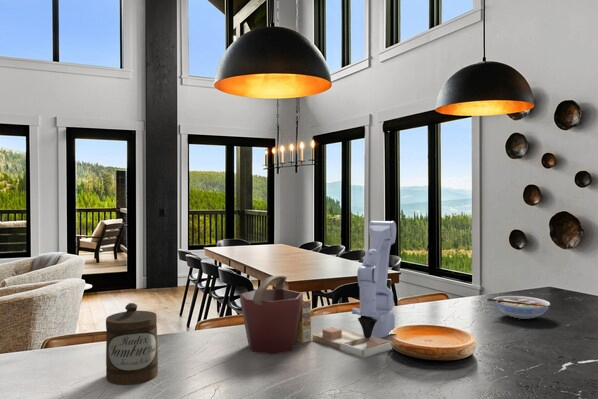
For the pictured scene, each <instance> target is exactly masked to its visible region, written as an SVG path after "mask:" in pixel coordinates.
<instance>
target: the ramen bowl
mask: <svg viewBox="0 0 598 399" xmlns="http://www.w3.org/2000/svg"><path fill="white" fill-rule="evenodd" d="M486 301H487V302H494V304H495V306H496V307H497V308H498V310H499V311H500V312H502V313H503V314H505V315H506V316H509V317H511V318H512V317H514V318H513V319H515V318H520V319H529V320H530V318H531V319H535V318H537V317H540V316H542V315H543V314H544V313H546V312H547V310H548V309H549V308H552V306H551V303H550V302H549V301H547V300H545V299H541V298H537V297H531V296H524V295H502V296H497V297H494V298H488V299H486ZM520 319H519V320H520Z"/></svg>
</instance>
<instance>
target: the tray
mask: <svg viewBox="0 0 598 399" xmlns="http://www.w3.org/2000/svg"><path fill="white" fill-rule="evenodd" d="M376 338H377V339H380V340H384V341H387V343H386V344H382V345H378V346H375V347H371V348H367V342H364V343H360V344H357V345H353V346H350V345H348V344H345V343H340V350H339V351H343V352H345V353H348V354H350V355H353V356H357V357H359V358H363V359H365V358H368V357H371V356H374V355H379V354H382V353H385V352H388V351H392V350H393V349H392V346H391V344H390V342H389V341H390V340H387V339H384V338H379V337H375V336H372V335H371V337H370V338H369V340H372V339H376Z"/></svg>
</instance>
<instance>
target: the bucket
mask: <svg viewBox="0 0 598 399" xmlns="http://www.w3.org/2000/svg"><path fill="white" fill-rule="evenodd" d="M287 277H288V276H284V275H271V276H269V277H268V276H267V277H266V278H265V279H264V280H263V281H262V282H261V284H260V285H259V286H258V288H256V289H254V290H251V291H247V292H243V293H240V294H239V295H240V296H239V299H240V300H239V301H240V307H241V312H242V313H241V314H242V318H243V323H244V329H245V333H246V334H245V335H246V340H247V345H248V347H249V348H250V350H251V352H253V353H260V354H267V355H268V354H269V355H275V354H280V353H287V352H291V351H292V350H293V349H294V347H295V345H296V341H297V340H296V336H297V331H298V325H299V320H300V314H301V309H302V303H303V298H304V293H303V292H299V291H295V290H291V289H290V290H289V289H286V287H285V286H286V285H285V282H286V280H287V279H288V278H287ZM276 279H277V281H276V283H275V288H269V287H270V285H271V283H273V281H275V280H276ZM268 288H269V289H268Z"/></svg>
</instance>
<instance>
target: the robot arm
mask: <svg viewBox="0 0 598 399" xmlns="http://www.w3.org/2000/svg"><path fill="white" fill-rule="evenodd" d="M368 234H369V237H370V244H369V245H370V246H369V249H368V250H366V251H365V254H364V256H363V257H364V258H363V261H362V264H361V266H359V267H358V268H357V273H356V274H357V275H356V277H357V281H358V282H357V284H358V287H359V308H358V307H353V308H351V314H352V315H357V316H359V317H358V318H357V320H358V322H359V324H360V327H361V330H362V332H363V333H362V334H364V337H365V338H370V337H371V336H375V337H378V338H381V339H383V338H384V337H389V336H388V334H389V332H390V331H391V330H393V329H394V328H395V327H396V326H395V324H396V320H395V314H394V312H393V311H392V310H393V308H394V293H393V291H392V290H391V289H390V288H389V287H388V285H387V284H388V274H389V262H390V251H391V246H392V245H394V244H395V243H396V237H397V224H396V222H395V221H394V220H391V221H390V220H371V221H369V224H368ZM395 329H396V328H395Z"/></svg>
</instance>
